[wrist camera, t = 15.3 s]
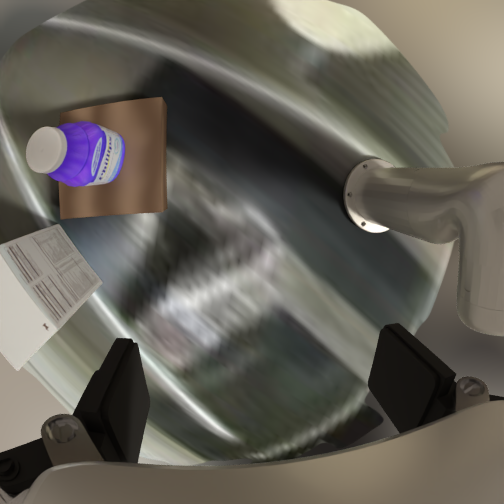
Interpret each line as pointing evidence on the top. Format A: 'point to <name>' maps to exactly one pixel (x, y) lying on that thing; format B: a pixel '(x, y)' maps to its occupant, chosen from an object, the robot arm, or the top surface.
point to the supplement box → (39, 290)
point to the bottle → (77, 153)
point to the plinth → (134, 165)
